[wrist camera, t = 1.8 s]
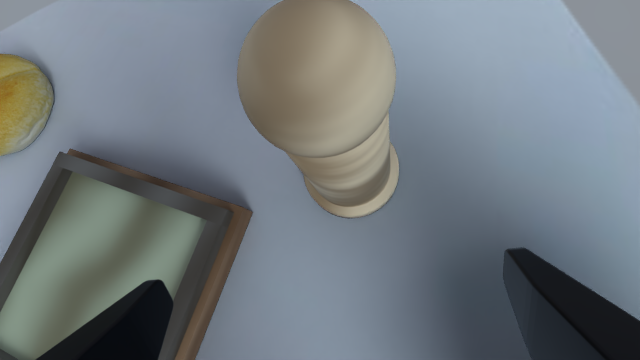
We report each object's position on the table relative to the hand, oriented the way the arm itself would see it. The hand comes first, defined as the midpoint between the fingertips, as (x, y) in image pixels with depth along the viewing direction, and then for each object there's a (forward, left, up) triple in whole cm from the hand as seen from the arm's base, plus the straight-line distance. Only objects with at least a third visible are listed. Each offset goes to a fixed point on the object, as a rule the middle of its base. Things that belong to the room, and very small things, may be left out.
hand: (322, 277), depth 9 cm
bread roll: (+33, -3, -13) cm, 36 cm away
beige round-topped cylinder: (+3, -6, -13) cm, 15 cm away
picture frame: (+16, +6, -13) cm, 21 cm away
